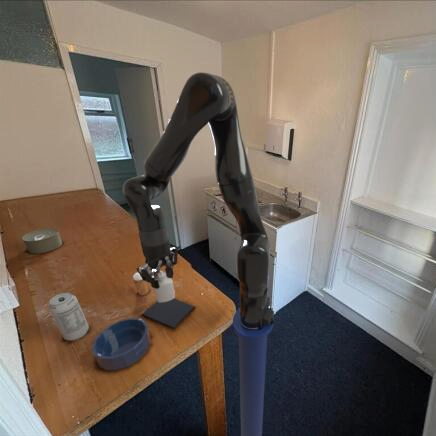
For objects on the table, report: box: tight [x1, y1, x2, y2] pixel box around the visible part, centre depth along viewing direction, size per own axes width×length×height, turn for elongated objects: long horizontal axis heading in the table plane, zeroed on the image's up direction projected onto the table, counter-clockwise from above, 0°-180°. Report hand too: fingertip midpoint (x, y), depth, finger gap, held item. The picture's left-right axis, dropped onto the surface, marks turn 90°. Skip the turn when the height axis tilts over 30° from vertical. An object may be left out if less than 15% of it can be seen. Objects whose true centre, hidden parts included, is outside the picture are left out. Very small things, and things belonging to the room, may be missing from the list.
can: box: [21, 228, 63, 254], centre depth 111 cm, size 12×12×7 cm
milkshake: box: [132, 272, 149, 296], centre depth 89 cm, size 4×5×10 cm
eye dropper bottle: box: [153, 270, 176, 302], centre depth 79 cm, size 4×6×12 cm
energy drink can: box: [48, 292, 90, 341], centre depth 70 cm, size 6×6×15 cm
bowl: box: [91, 317, 151, 371], centre depth 69 cm, size 13×13×6 cm
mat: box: [142, 298, 196, 330], centre depth 84 cm, size 14×10×1 cm
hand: (163, 282), depth 78 cm, fingers closed on eye dropper bottle, 5 cm apart
